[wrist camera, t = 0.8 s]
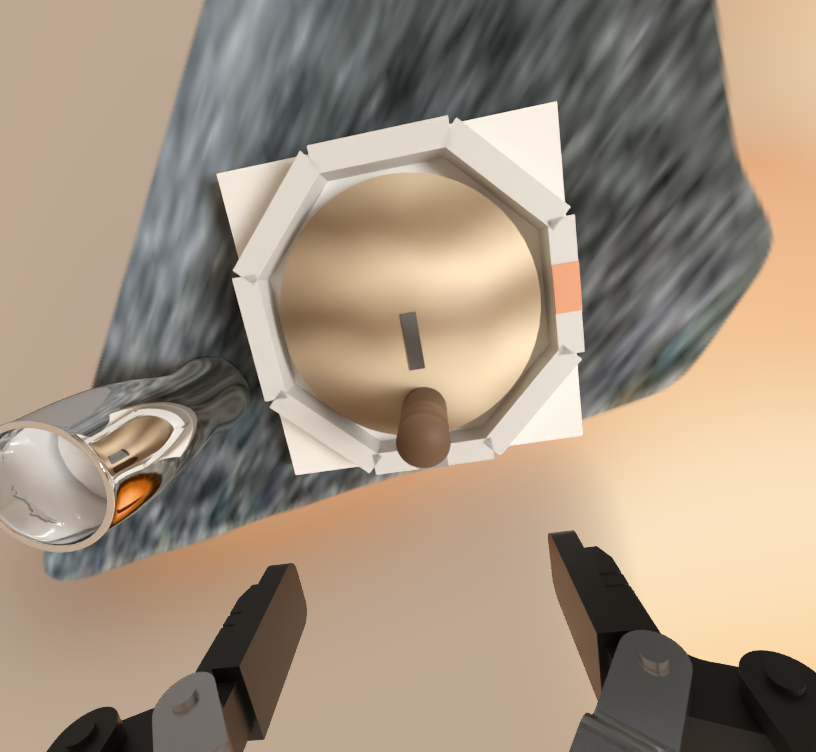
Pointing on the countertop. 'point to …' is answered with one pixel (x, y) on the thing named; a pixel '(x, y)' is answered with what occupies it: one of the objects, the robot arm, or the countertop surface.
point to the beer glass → (110, 451)
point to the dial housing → (439, 155)
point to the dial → (410, 308)
